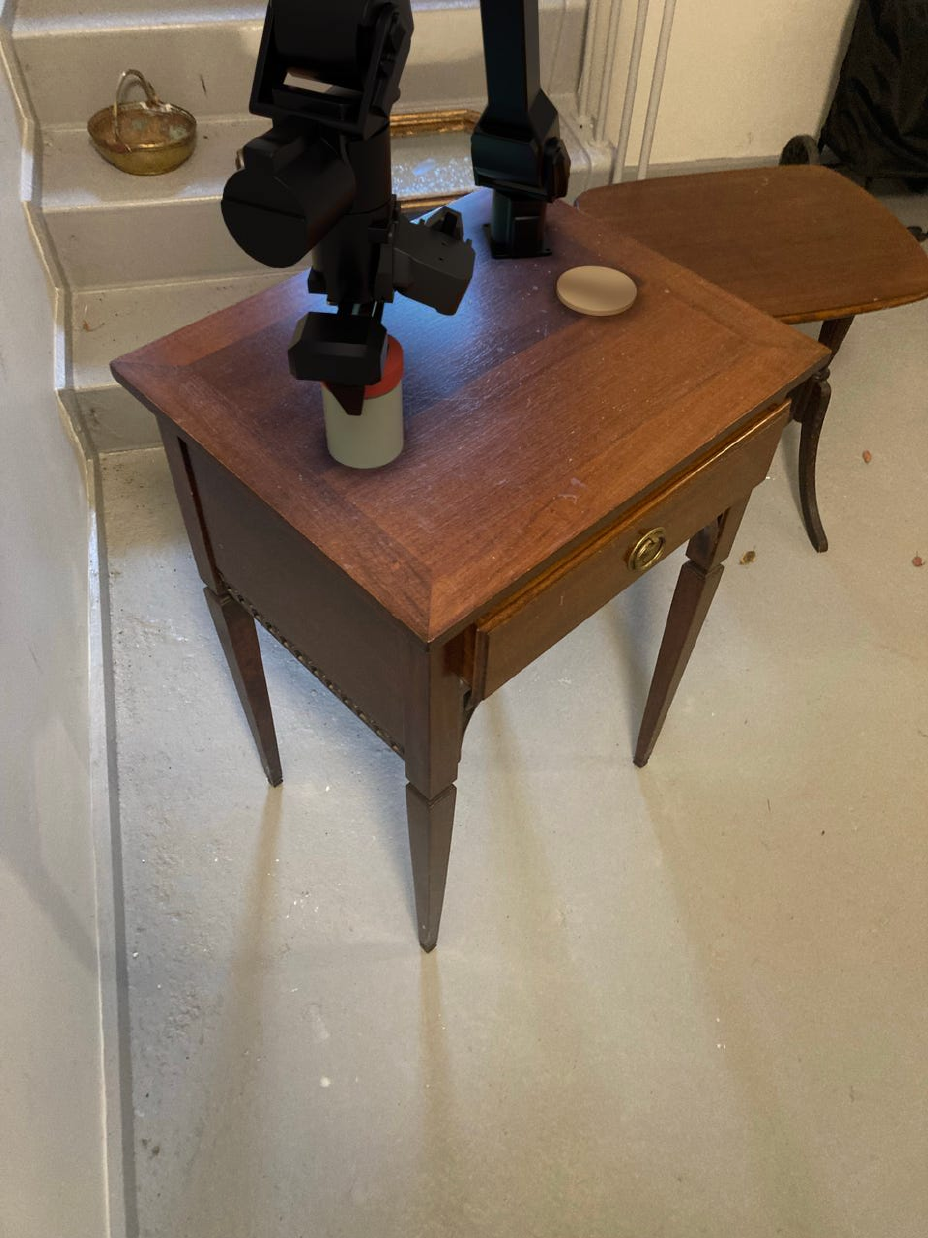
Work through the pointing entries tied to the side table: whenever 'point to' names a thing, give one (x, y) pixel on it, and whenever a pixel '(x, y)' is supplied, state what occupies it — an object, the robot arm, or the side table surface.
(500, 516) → the side table surface
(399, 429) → the jar
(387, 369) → the jar lid
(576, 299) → the coaster
